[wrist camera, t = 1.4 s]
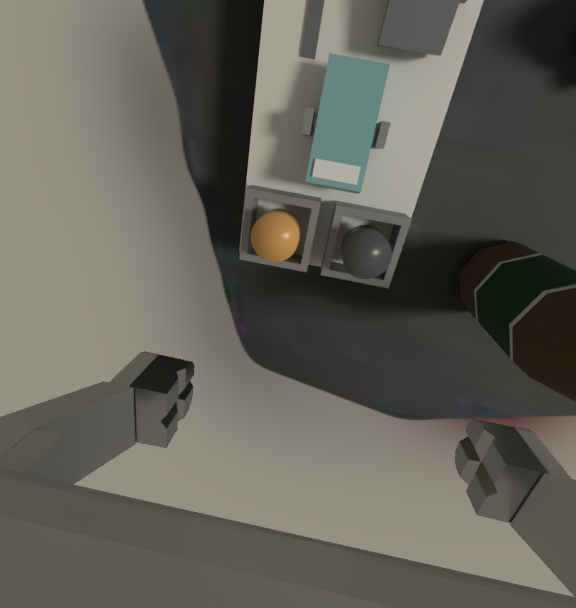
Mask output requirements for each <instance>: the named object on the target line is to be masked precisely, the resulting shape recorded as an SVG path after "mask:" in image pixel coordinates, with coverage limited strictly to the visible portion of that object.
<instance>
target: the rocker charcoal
mask: <svg viewBox="0 0 576 608" xmlns="http://www.w3.org/2000/svg"><path fill="white" fill-rule="evenodd" d="M459 2H460V0H388V1H387V6H386V10H385V14H384V18H383V22H382V26H381V30H380V34H379V38H378V43H377V45H378V46H384V47H389V48H395V49H401V50H406V51H412V52H418V53H423V54H429V55H435V56H441V54H442V51H443V48H444V46H445V43H446V40H447V37H448V34H449V31H450V28H451V25H452V22H453V20H454V17H455V14H456V11H457V8H458V5H459Z"/></svg>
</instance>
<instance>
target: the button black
mask: <svg viewBox="0 0 576 608" xmlns="http://www.w3.org/2000/svg"><path fill="white" fill-rule="evenodd" d="M341 254H342V261H343V265H344V267H345V269H346V270H347V272H348V273H349V274H351V275H352V276H354V277H356V278H359V279H371V278H375V277H377V276H379V275H381V274H382V273H383V272H384V271H385V270H386V269H387V268H388V266H389V264H390V262H391V258H392V250H391V247H390V244H389V243H388V241H387V240H386V238H385V237H384V235H383V234H382V232H381V231H380V230H379V229H377V228H376V227H373V226H370V225H360V226H357V227H354V228H353V229H351V230H350V231H349V232H347V234H346V235H345V236H344V238H343V240H342V243H341Z"/></svg>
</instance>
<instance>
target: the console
mask: <svg viewBox="0 0 576 608" xmlns="http://www.w3.org/2000/svg"><path fill="white" fill-rule="evenodd" d="M387 1H388V0H264V9H263V19H262V29H261V39H260V49H259V59H258V69H257V79H256V89H255V99H254V109H253V119H252V129H251V139H250V149H249V159H248V169H247V179H246V189H245V199H244V209H243V219H242V229H241V239H240V249H239V251H240V260H245V261H251V262H256V263H261V264H266V265H271V266H276V267H281V268H287V269H292V270H297V271H302V272H307V268H308V264H309V265H314V266H319V267H321V275H323V276H328V277H333V278H338V279H343V280H348V281H354V282H359V283H364V284H369V285H374V286H379V287H384V288H389V286H390V283H391V280H392V277H393V274H394V271H395V268H396V265H397V262H398V259H399V256H400V253H401V250H402V247H403V244H404V241H405V238H406V235H407V232H408V229H409V226H410V223H411V220H412V219H411V217H412V214H413V211H414V208H415V205H416V202H417V199H418V196H419V193H420V190H421V187H422V184H423V181H424V178H425V175H426V172H427V169H428V166H429V163H430V160H431V157H432V154H433V151H434V148H435V145H436V142H437V139H438V136H439V133H440V130H441V127H442V124H443V121H444V118H445V115H446V112H447V109H448V106H449V103H450V100H451V97H452V94H453V91H454V88H455V85H456V82H457V79H458V76H459V73H460V70H461V67H462V64H463V61H464V58H465V55H466V52H467V49H468V46H469V43H470V40H471V37H472V34H473V31H474V28H475V25H476V22H477V19H478V16H479V13H480V10H481V7H482V4H483V1H484V0H460V2H459V5H458V8H457V11H456V14H455V17H454V20H453V22H452V25H451V28H450V31H449V34H448V37H447V40H446V43H445V46H444V48H443V51H442V54H441V56H435V55H429V54H423V53H418V52H412V51H406V50H401V49H395V48H389V47H384V46H378V45H377V43H378V38H379V34H380V30H381V26H382V22H383V18H384V14H385V10H386V6H387ZM329 53H331V54H337V55H343V56H348V57H354V58H360V59H365V60H371V61H376V62H382V63H388V64H390V66H389V71H388V75H387V80H386V84H385V88H384V93H383V97H382V101H381V106H380V110H379V114H378V119H377V123H376V126H378V130H377V134H376V138H375V141H374V142H372V145H371V149H370V154H369V158H368V163H367V167H366V171H365V176H364V180H363V184H362V189H361V192H360V193H359V194H355V193H350V192H345V191H339V190H334V189H329V188H323V187H318V186H313V185H307V184H306V182H305V181H306V176H307V170H308V165H309V160H310V154H311V149H312V144H313V138H314V133H315V131H312V130H313V123H314V118H315V115H318V111H319V106H320V101H321V95H322V90H323V85H324V79H325V74H326V68H327V63H328V58H329ZM276 208H280V209H285V210H287V211H289V212H291V213H292V214H293V215H294V216H295V217H296V218H297V220H298V221H299V224H300V228H301V235H300V239H299V242H298V245H297V248H296V250H295V252H294V253H293V254H292V255H291V256H290V257H289V258H288V259H286V260H283V261H280V262H271V261H268V260H265V259H263V258H262V257H260V256H259V255H258V254H257V253H256V252H255V250H254V248H253V246H252V243H251V231H252V228H253V226H254V224H255V223H256V222H257V220H258V219H259V218H260V217H261V216H262V215H263V214H264V213H266V212H267V211H269V210H271V209H276ZM360 225H370V226H373V227H376V228H377V229H379V230H380V231H381V232H382V234H383V235H384V237H385V238H386V240H387V241H388V243H389V244H390V247H391V250H392V258H391V262H390V264H389V266H388V268H387V269H386V270H385V271H384V272H383V273H382V274H381V275H379V276H377V277H375V278H371V279H359V278H356V277H354V276H352V275H351V274H349V273H348V272H347V270H346V269H345V267H344V265H343V261H342V254H341V243H342V240H343V238H344V236H345V235H346V234H347V232H349V231H350V230H351V229H353V228H354V227H357V226H360Z"/></svg>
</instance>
